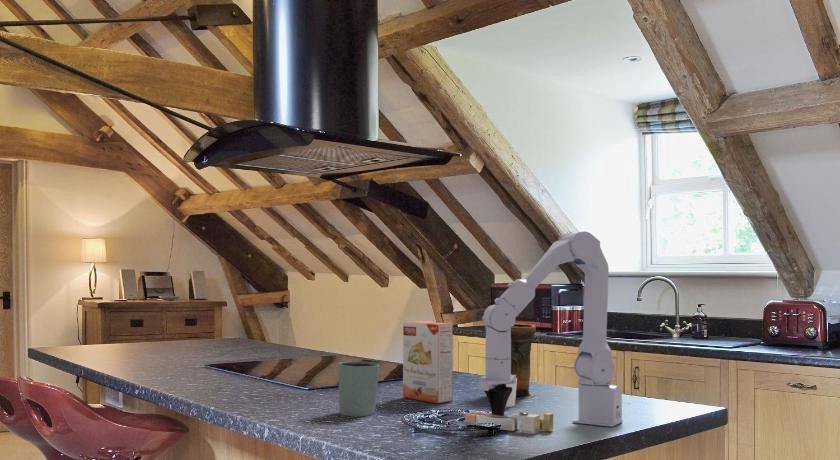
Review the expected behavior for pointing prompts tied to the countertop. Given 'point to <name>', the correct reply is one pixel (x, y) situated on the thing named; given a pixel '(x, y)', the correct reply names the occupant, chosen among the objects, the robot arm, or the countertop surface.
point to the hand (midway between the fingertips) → (497, 419)
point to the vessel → (521, 357)
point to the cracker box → (428, 361)
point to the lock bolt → (546, 422)
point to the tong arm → (516, 420)
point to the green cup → (358, 388)
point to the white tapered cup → (512, 395)
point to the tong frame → (509, 421)
